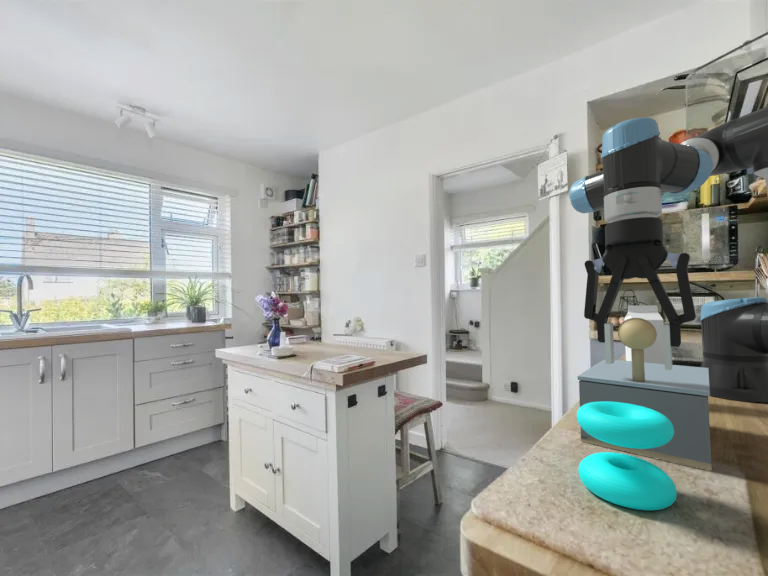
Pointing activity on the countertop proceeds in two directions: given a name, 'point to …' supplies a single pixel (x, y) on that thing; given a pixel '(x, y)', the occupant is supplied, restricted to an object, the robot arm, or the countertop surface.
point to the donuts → (621, 471)
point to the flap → (647, 365)
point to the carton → (678, 407)
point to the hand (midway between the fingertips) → (638, 365)
